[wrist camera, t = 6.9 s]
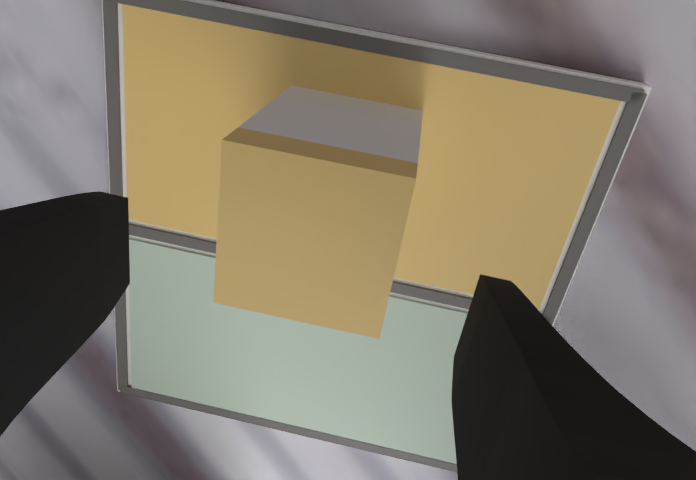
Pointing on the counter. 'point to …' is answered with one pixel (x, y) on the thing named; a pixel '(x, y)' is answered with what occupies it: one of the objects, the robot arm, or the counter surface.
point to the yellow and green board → (420, 231)
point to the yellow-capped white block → (316, 208)
